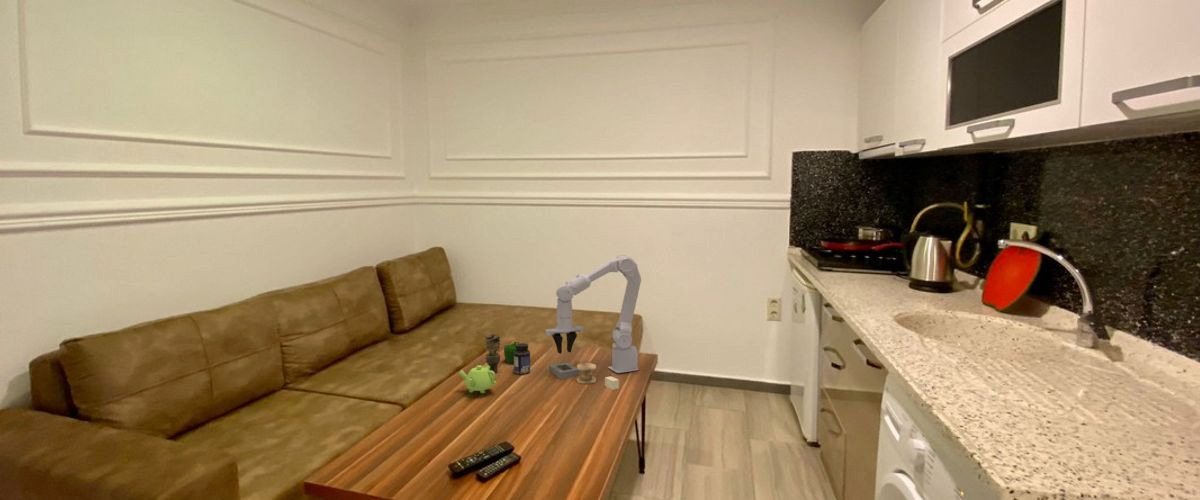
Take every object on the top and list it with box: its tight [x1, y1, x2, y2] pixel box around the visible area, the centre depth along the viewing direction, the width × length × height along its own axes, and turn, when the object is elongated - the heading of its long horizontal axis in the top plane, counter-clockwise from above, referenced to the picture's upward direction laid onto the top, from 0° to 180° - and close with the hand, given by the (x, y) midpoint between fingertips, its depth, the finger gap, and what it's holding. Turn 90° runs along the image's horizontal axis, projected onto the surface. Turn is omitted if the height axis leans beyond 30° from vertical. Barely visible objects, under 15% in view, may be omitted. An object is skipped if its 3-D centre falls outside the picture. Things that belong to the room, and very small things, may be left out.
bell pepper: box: [503, 340, 520, 365], centre depth 207 cm, size 8×8×10 cm
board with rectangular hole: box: [549, 362, 580, 380], centre depth 195 cm, size 8×10×2 cm
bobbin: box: [576, 362, 597, 385], centre depth 187 cm, size 7×7×6 cm
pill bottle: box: [513, 342, 531, 376], centre depth 196 cm, size 6×6×11 cm
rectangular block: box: [604, 376, 620, 391], centre depth 181 cm, size 3×5×3 cm, turn 34°
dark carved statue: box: [484, 333, 501, 373], centre depth 195 cm, size 6×6×15 cm
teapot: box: [458, 364, 497, 394], centre depth 177 cm, size 11×12×8 cm
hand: (564, 352), depth 195 cm, fingers open, 3 cm apart
